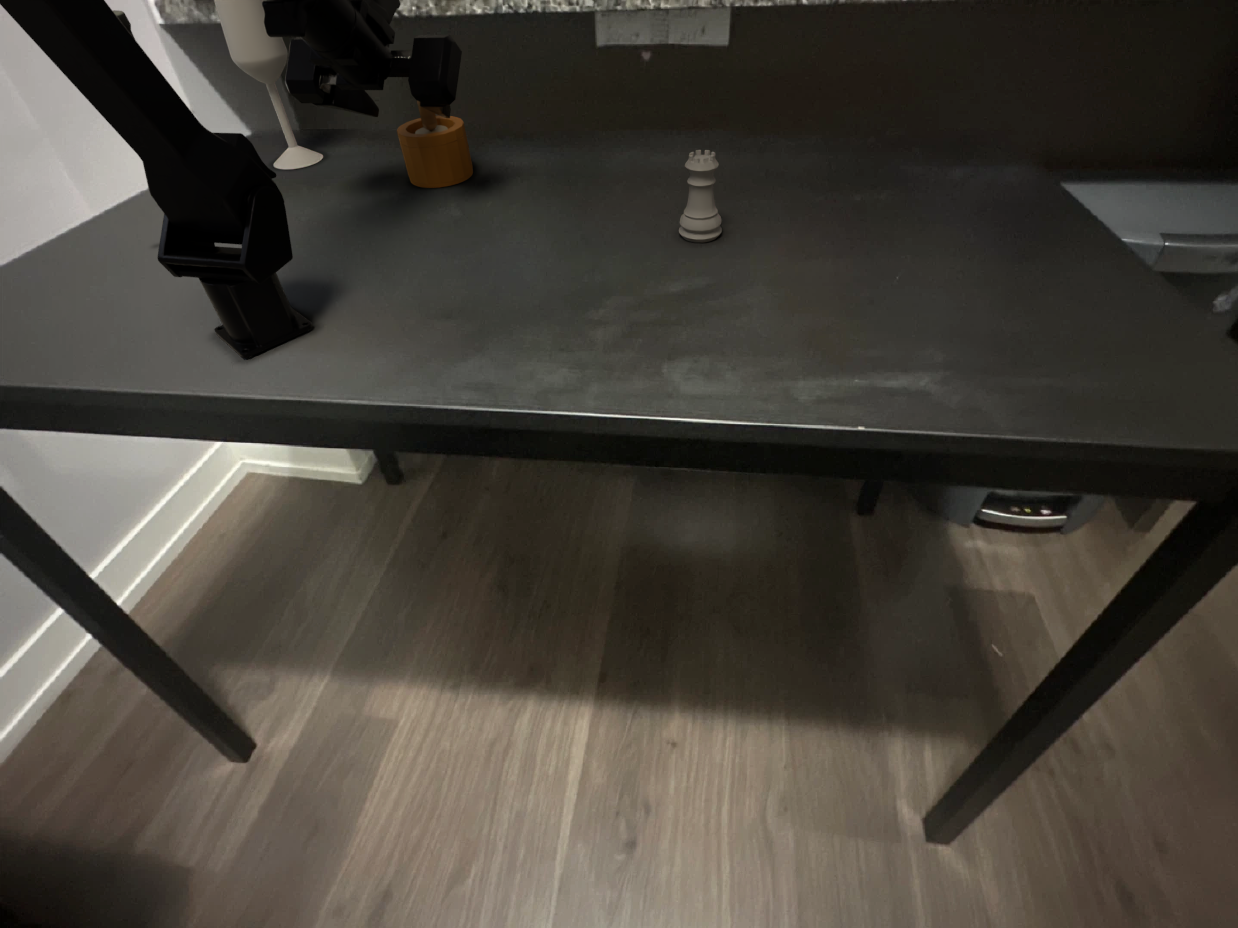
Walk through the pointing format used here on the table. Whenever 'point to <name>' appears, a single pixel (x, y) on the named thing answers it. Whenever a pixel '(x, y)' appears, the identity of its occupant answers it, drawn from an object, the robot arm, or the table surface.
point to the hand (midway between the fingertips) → (412, 113)
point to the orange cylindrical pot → (436, 153)
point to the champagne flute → (261, 66)
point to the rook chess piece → (701, 200)
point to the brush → (428, 122)
